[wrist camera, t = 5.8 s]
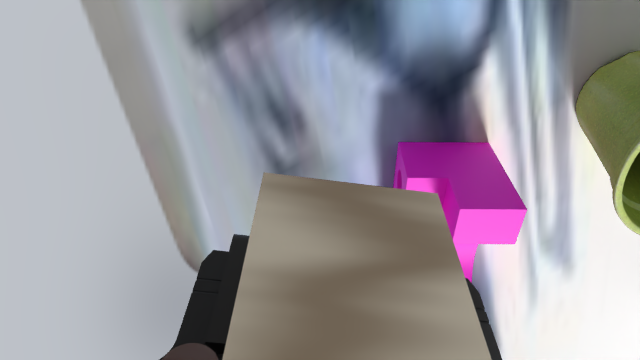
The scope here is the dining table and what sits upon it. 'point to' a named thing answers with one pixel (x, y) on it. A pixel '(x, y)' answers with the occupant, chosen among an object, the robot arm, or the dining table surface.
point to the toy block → (464, 192)
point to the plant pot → (616, 130)
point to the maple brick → (351, 277)
